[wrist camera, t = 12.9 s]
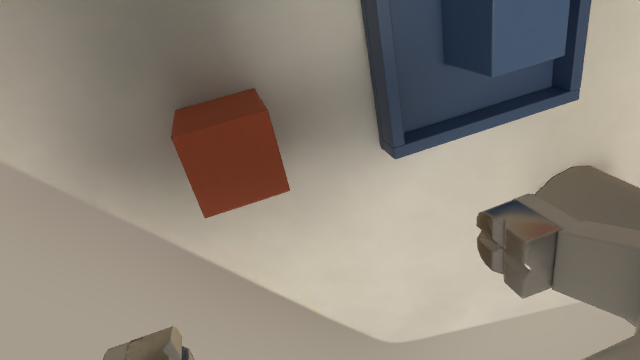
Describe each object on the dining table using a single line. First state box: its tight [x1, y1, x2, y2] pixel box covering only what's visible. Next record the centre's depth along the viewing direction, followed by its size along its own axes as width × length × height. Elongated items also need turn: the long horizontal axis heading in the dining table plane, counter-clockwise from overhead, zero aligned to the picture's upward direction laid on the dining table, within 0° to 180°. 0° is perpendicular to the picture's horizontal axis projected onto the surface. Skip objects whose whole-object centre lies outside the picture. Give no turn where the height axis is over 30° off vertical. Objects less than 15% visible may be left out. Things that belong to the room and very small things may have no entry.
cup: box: [536, 166, 640, 327], centre depth 30 cm, size 8×8×10 cm
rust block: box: [171, 89, 290, 218], centre depth 21 cm, size 4×4×4 cm
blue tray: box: [361, 0, 591, 159], centre depth 23 cm, size 14×14×2 cm
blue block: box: [442, 0, 570, 78], centre depth 21 cm, size 4×4×4 cm
